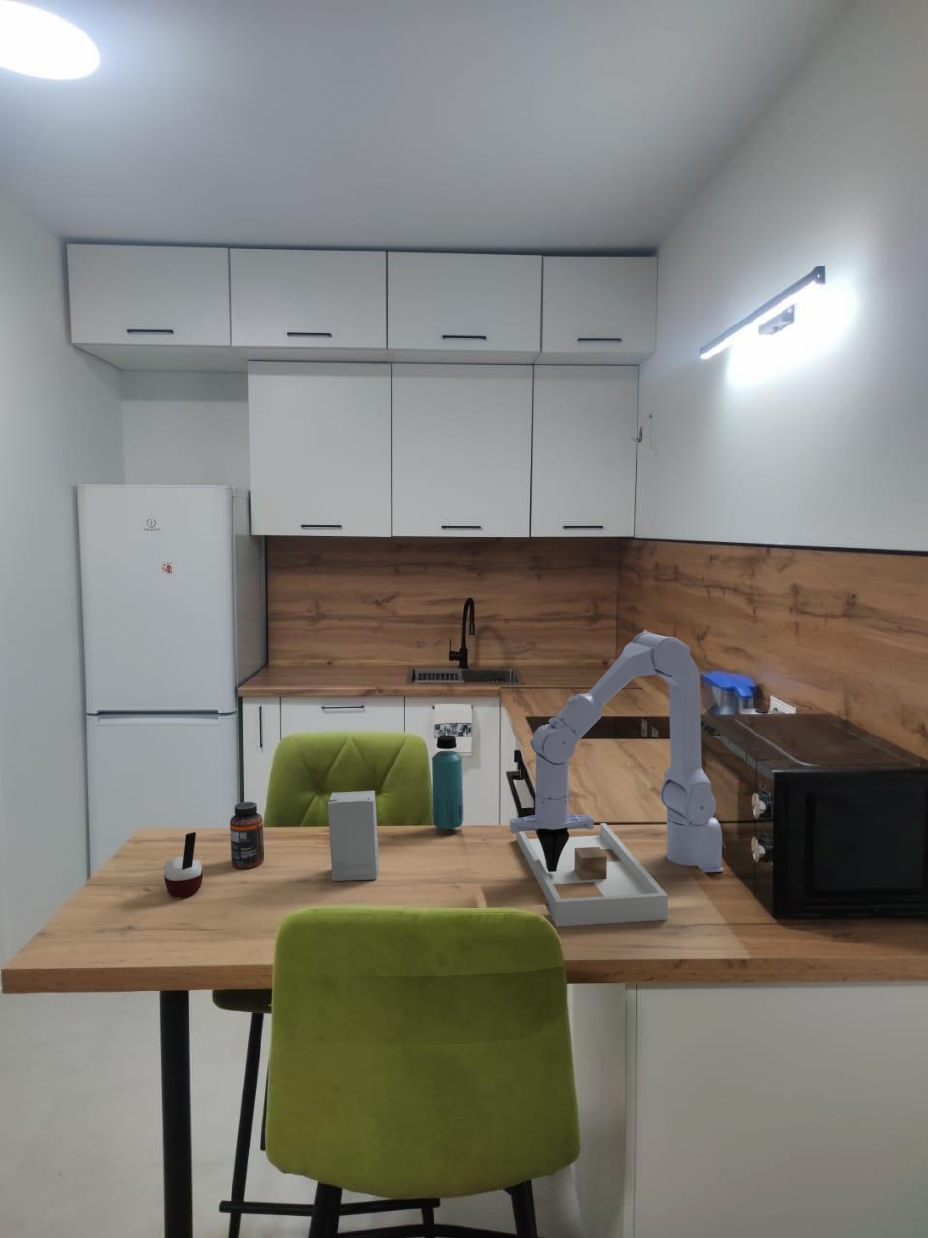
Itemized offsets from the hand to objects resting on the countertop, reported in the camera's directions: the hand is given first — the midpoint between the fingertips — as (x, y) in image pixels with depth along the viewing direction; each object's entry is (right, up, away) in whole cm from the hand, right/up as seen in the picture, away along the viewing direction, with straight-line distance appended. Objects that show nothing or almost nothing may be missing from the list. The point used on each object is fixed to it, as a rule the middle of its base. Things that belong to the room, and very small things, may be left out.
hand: (551, 869), depth 140 cm
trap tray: (+6, -2, +1) cm, 6 cm away
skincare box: (-35, -2, +4) cm, 36 cm away
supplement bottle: (-56, -2, +9) cm, 57 cm away
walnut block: (+7, -1, 0) cm, 7 cm away
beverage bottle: (-19, 0, +26) cm, 32 cm away
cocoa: (-64, -3, -4) cm, 64 cm away
